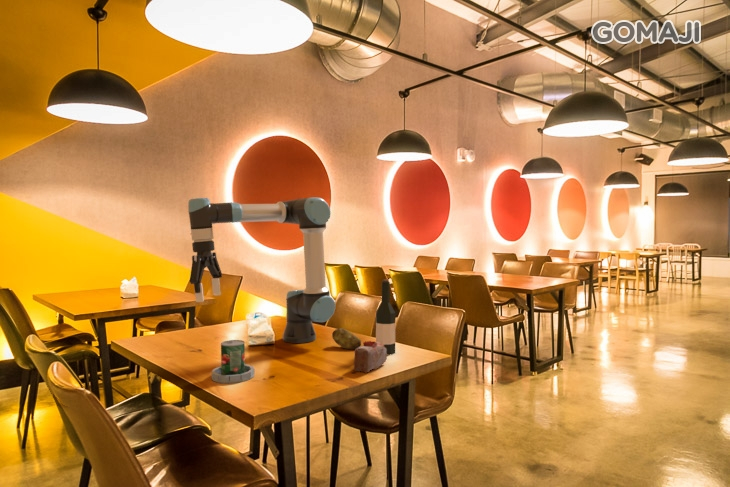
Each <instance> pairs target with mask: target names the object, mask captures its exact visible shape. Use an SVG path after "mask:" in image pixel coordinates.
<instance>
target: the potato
mask: <svg viewBox="0 0 730 487" xmlns="http://www.w3.org/2000/svg"><path fill="white" fill-rule="evenodd" d="M332 339H333V341H334V342H335V343H336V344H337V345H338V346H340V347H341V348H343V349H347V350H355V349H356V348H359V347H362V340H361V339H360V338H359V337H358V336H357V335H355V334H354V333H352V332H351V331H349V330H348V329H347V328H346V329H345V328H342V327H339V328H337V329H335V330H334V331H333V332H332Z"/></svg>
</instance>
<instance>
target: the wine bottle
mask: <svg viewBox="0 0 730 487" xmlns="http://www.w3.org/2000/svg"><path fill="white" fill-rule="evenodd" d="M390 283H391V282H390V281H389V279H383V280H382V281H381V302H380V304H379V306H377V307H378V308H377V309H376V311H375V342H379V343H381V344H383V345H384V347H385V348H386V349H387V351H386V353H387V354H391V355H393V354H396V311H395V309H394V308H393V306H392V304H391V299H390V298H391V295H390V294H391V291H390V290H391V289H390V288H391V287H390V286H391V284H390Z"/></svg>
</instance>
